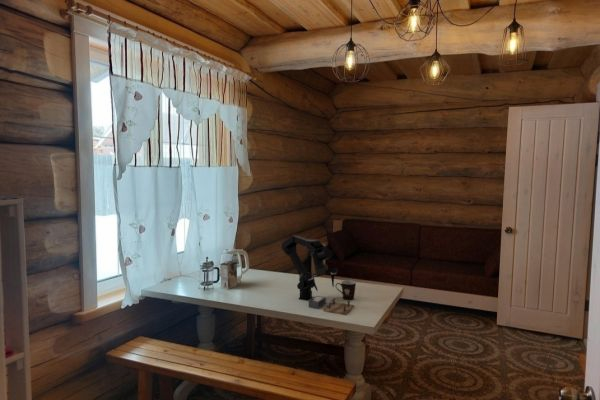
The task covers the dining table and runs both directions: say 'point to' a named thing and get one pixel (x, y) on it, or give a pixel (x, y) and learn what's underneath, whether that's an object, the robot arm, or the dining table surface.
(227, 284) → the coffee box
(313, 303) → the drive
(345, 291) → the coffee mug
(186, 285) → the dining table surface
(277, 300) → the dining table surface
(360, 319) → the dining table surface
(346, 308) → the wooden peg board
